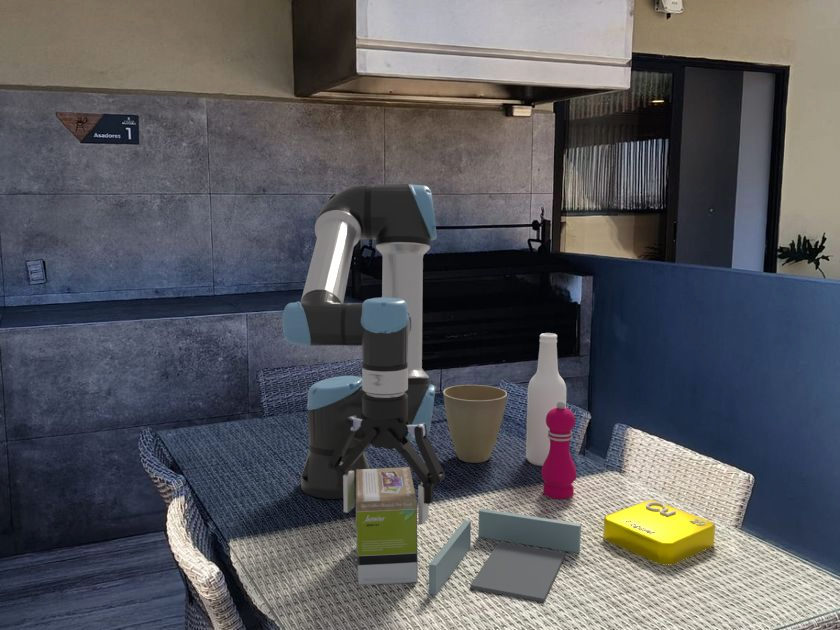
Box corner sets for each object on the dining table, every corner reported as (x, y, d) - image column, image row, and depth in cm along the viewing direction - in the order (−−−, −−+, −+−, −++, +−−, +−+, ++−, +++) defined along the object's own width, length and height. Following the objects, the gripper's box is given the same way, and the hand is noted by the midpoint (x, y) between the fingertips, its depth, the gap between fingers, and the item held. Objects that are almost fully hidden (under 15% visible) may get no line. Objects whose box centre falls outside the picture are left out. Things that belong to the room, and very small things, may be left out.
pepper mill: (575, 501, 166) (578, 406, 163) (539, 498, 168) (542, 404, 165) (576, 488, 173) (579, 397, 170) (541, 486, 175) (544, 395, 172)
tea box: (356, 545, 146) (355, 466, 144) (412, 543, 147) (411, 465, 145) (356, 586, 132) (355, 499, 129) (419, 584, 132) (419, 497, 130)
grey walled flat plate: (428, 593, 129) (428, 564, 128) (474, 533, 151) (474, 507, 151) (551, 617, 122) (552, 586, 121) (580, 550, 144) (581, 523, 144)
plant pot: (487, 473, 182) (488, 404, 180) (430, 461, 190) (431, 394, 188) (516, 454, 195) (518, 389, 192) (462, 443, 203) (462, 381, 200)
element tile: (598, 539, 150) (599, 514, 149) (650, 519, 159) (651, 495, 158) (666, 570, 138) (668, 543, 137) (718, 546, 147) (720, 521, 146)
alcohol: (566, 456, 193) (570, 332, 188) (560, 469, 185) (564, 339, 180) (530, 452, 196) (533, 329, 191) (522, 464, 188) (525, 336, 183)
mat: (470, 588, 131) (470, 585, 131) (498, 544, 147) (498, 541, 146) (544, 602, 127) (544, 598, 127) (565, 555, 142) (565, 552, 142)
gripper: (306, 390, 135) (309, 512, 138) (449, 404, 127) (448, 534, 130) (327, 381, 142) (329, 497, 145) (464, 393, 133) (463, 517, 137)
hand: (385, 515), depth 138 cm, fingers open, 13 cm apart
